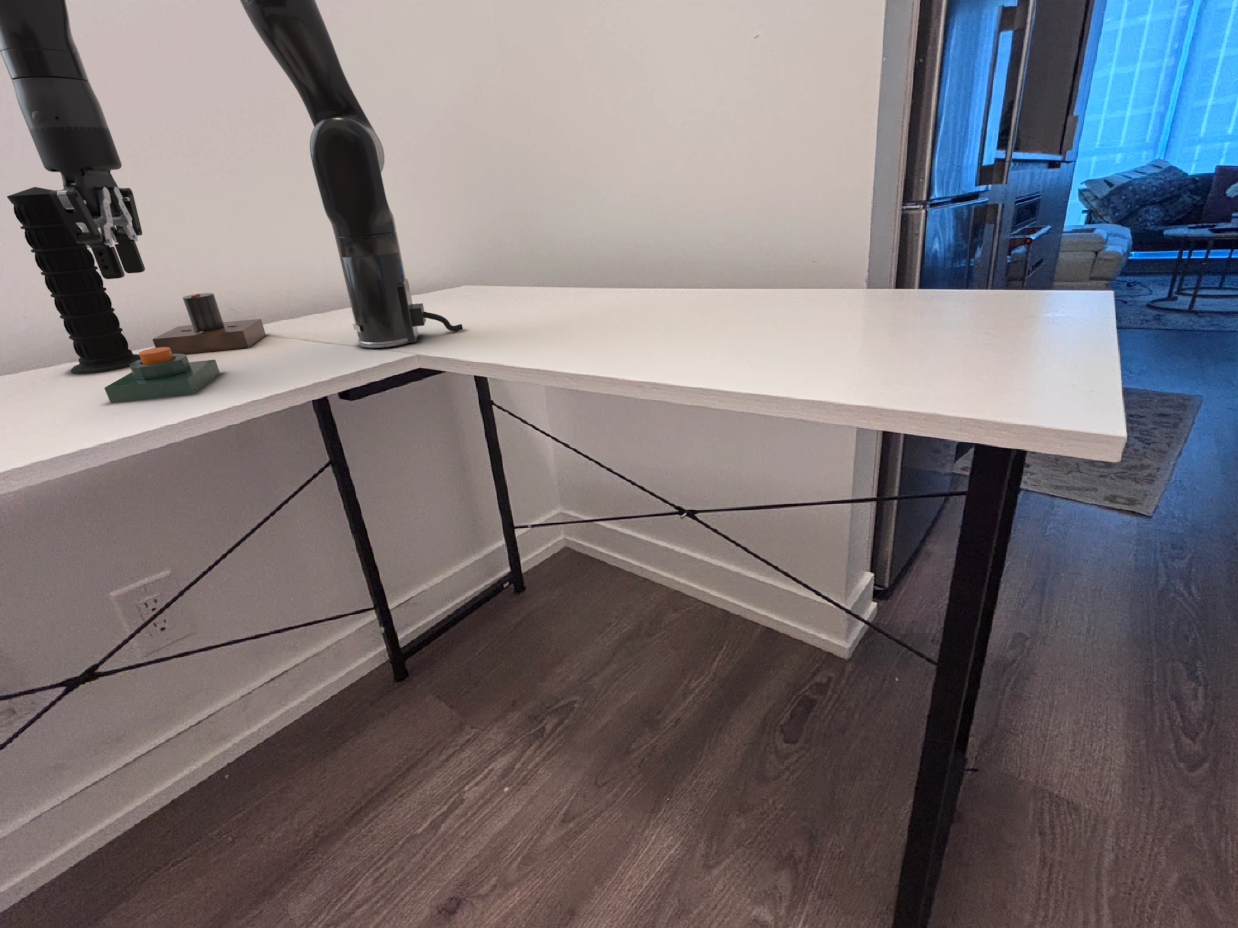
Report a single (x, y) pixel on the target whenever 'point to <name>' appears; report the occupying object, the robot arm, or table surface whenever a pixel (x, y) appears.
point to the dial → (203, 311)
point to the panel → (212, 337)
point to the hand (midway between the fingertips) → (125, 274)
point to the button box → (162, 379)
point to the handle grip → (73, 285)
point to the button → (156, 355)
